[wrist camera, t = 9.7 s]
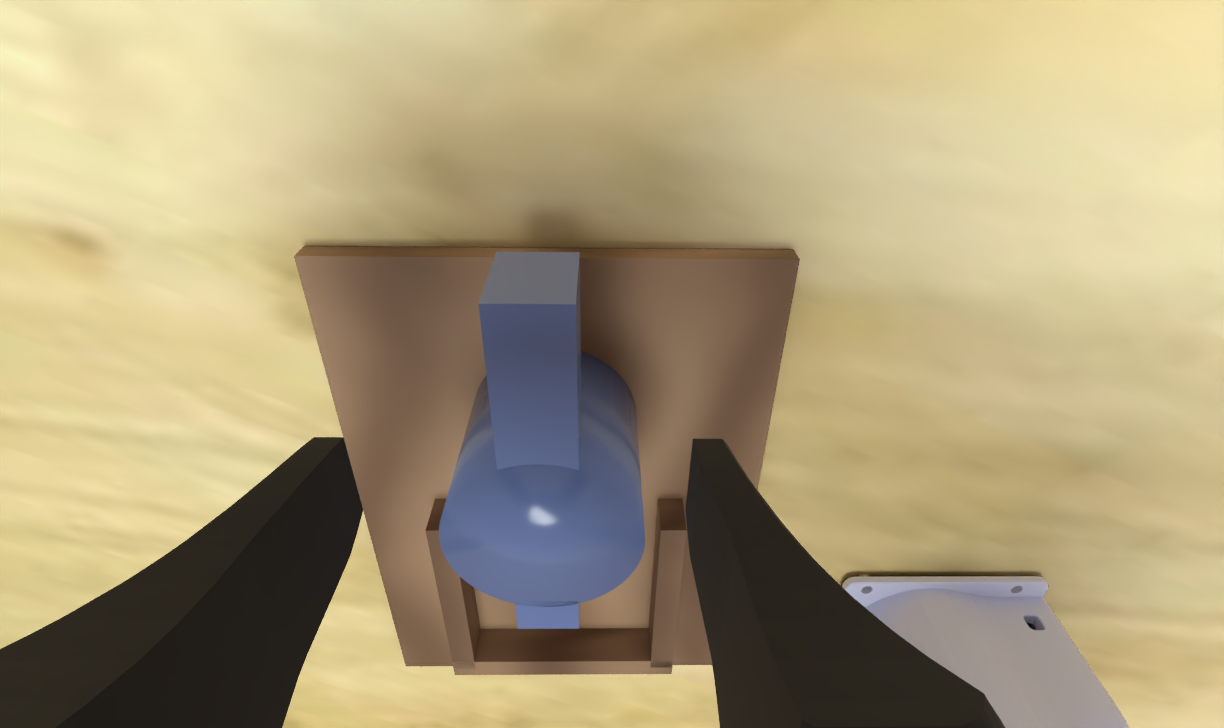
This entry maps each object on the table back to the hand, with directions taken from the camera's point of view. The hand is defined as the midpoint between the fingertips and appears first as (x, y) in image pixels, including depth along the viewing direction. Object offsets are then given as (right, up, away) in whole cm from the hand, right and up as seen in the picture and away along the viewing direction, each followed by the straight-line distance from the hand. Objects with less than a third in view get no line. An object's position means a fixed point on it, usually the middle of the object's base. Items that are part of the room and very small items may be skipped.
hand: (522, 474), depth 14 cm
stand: (0, -3, +14) cm, 14 cm away
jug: (0, +2, +9) cm, 10 cm away
